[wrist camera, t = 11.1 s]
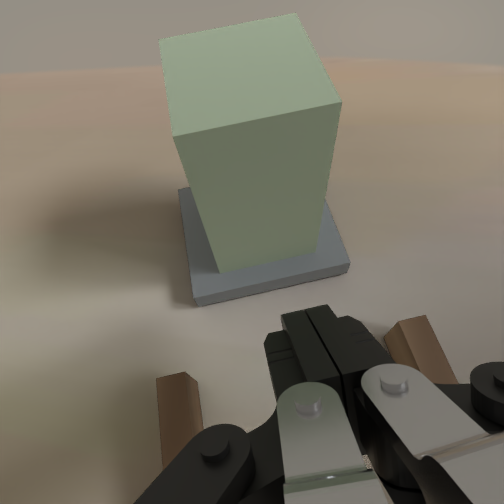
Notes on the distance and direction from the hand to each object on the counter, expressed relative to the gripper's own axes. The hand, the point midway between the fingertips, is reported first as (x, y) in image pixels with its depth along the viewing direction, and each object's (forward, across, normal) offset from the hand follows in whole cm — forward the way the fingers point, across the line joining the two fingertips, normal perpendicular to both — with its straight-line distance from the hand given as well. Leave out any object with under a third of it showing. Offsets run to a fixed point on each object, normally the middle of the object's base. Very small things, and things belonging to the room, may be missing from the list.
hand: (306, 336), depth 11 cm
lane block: (+10, 0, -1) cm, 10 cm away
